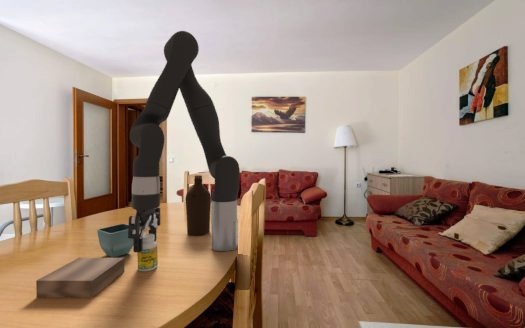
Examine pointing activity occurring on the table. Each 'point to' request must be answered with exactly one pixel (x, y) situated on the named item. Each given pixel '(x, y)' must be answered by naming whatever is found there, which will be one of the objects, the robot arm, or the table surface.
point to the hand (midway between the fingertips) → (145, 246)
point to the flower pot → (115, 240)
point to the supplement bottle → (148, 254)
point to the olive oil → (198, 208)
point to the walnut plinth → (80, 278)
